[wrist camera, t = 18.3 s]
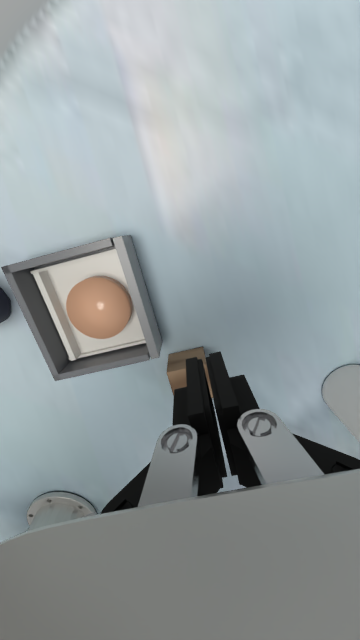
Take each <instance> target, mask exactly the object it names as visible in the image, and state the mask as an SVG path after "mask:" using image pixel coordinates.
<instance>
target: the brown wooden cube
mask: <svg viewBox="0 0 360 640" xmlns="http://www.w3.org/2000/svg"><path fill="white" fill-rule="evenodd" d="M193 357H197V359H202V361H203V365H204V369H205V373H206V378H207V382H208V386H209V390H210V394H211V398H213V394H212V389H211V384H210V379H209V374H208V369H207V364H206V359H205V353H204V349H203V347H199V348H195V349H190V350H186V351H181V352H177V353H172V354H169V356H168V365H167V375H168V379H169V382H170V385H171V388H172V392H173V395H174V390H175V389H178V388H183V387H187V383H186V359H189V358H193Z"/></svg>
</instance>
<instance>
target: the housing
mask: <svg viewBox="0 0 360 640" xmlns="http://www.w3.org/2000/svg"><path fill="white" fill-rule="evenodd" d="M113 249H116V248H115V245H114V242H113V238H108V239H104V240H100V241H97V242H93V243H89V244H86V245H82V246H78V247H74V248H71V249H67V250H63V251H60V252H56V253H52V254H49V255H45V256H41V257H37V258H34V259H30V260H26V261H23V262H19V263H15V264H11V265H8V266H4V267H1V268H2V270H3V272H4V274H5V276H6V279H7V281H8V283H9V285H10V287H11V289H12V291H13V293H14V295H15V298H16V300H17V302H18V304H19V306H20V308H21V310H22V312H23V314H24V316H25V319H26V321H27V323H28V325H29V327H30V329H31V331H32V333H33V335H34V338H35V340H36V342H37V344H38V346H39V348H40V350H41V352H42V354H43V357H44V359H45V361H46V363H47V365H48V367H49V369H50V371H51V373H52V375H53V378H54V380H55V381H57V380H62V379H66V378H71V377H75V376H80V375H84V374H89V373H93V372H98V371H102V370H107V369H111V368H116V367H120V366H125V365H129V364H134V363H138V362H143V361H147V360H149V359H150V354H149V351H148V347H147V344H146V343H143V344H138V345H134V346H130V347H125V348H121V349H117V350H112V351H108V352H103V353H99V354H95V355H90V356H86V357H82V358H77V359H76V360H73V361H71V360H69V355H68V353H67V351H66V349H65V346H64V344H63V342H62V339H61V337H60V335H59V333H58V330H57V328H56V326H55V323H54V321H53V319H52V317H51V314H50V312H49V310H48V307H47V305H46V303H45V301H44V298H43V296H42V294H41V291H40V289H39V287H38V285H37V282H36V280H35V278H34V275H33V274H31V272H30V271H34V270H37V269H41V268H45V267H49V266H53V265H56V264H60V263H64V262H68V261H71V260H75V259H79V258H83V257H86V256H90V255H94V254H98V253H101V252H105V251H109V250H113Z"/></svg>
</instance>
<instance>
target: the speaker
mask: <svg viewBox="0 0 360 640" xmlns="http://www.w3.org/2000/svg"><path fill="white" fill-rule="evenodd" d="M9 315H10V299H9V298H8V297H7V295H6V294H5V292H4V291H3V290H2V288H0V322H2V321H4V320H6V319H7V318H8V316H9Z"/></svg>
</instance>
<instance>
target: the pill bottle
mask: <svg viewBox="0 0 360 640" xmlns="http://www.w3.org/2000/svg"><path fill="white" fill-rule="evenodd" d="M322 395H323V398H324V400H325V402H326V404H327V405H328V406H329V408H330V409H331V410H332V411H333V412H334V413H335V415H336V416H337V417H338V418H339V419H340V421H341V422H342V423H343V424H344V425H345V426H346V428H347V429H348V430H349V431H350V432H351V433H352V435H353V436H354V437H355V438H356V439H357V440H358V442H359V443H360V365H346V366H343V367H340V368H338V369H336V370H335V371H333V372H332V373H331V374H330V375H329V376H328V377H327V378H326V380H325V382H324V384H323V388H322Z"/></svg>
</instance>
